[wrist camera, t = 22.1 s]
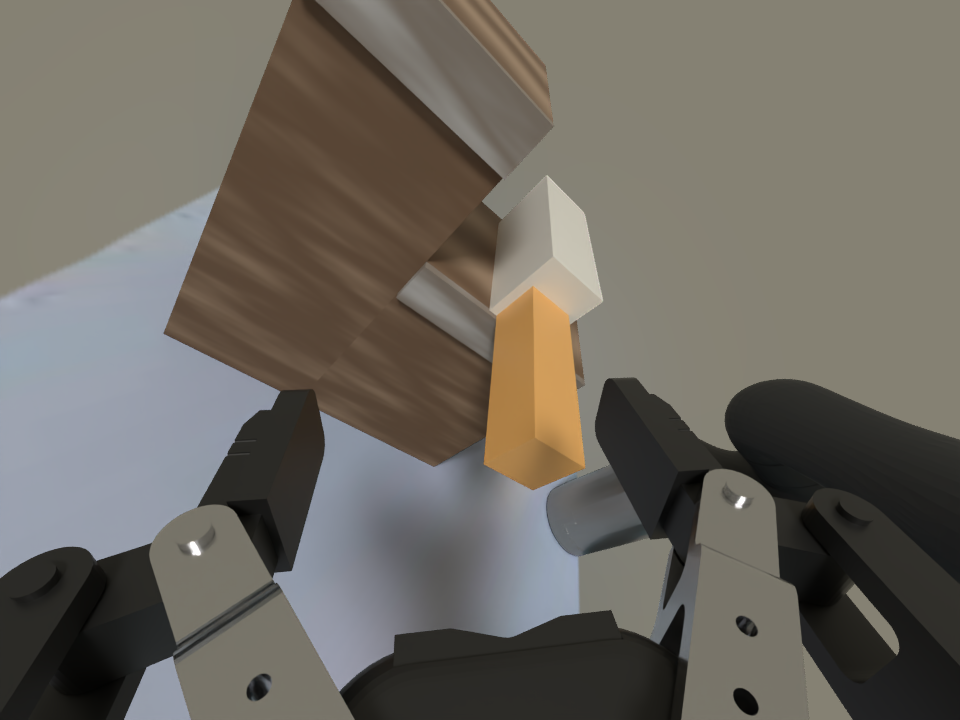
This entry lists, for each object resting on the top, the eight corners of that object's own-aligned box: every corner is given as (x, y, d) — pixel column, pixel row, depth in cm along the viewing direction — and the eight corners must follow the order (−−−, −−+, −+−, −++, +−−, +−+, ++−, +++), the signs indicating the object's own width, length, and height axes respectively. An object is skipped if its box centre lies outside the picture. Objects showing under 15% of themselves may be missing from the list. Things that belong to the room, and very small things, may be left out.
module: (498, 223, 38) (546, 174, 35) (536, 255, 40) (584, 213, 37) (473, 459, 21) (564, 408, 17) (541, 495, 23) (635, 456, 19)
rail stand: (245, 246, 44) (411, -92, 25) (450, 374, 55) (666, 208, 37) (159, 338, 33) (331, -118, 15) (433, 471, 45) (719, 308, 27)
